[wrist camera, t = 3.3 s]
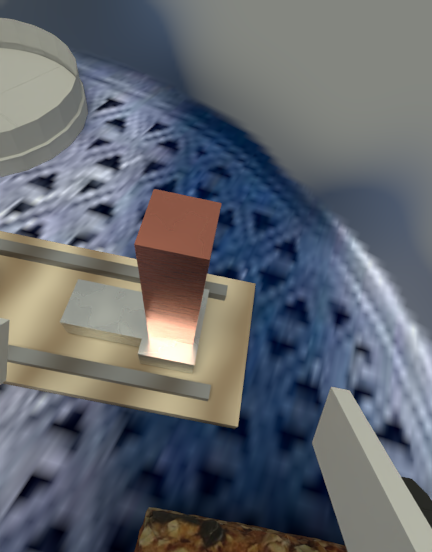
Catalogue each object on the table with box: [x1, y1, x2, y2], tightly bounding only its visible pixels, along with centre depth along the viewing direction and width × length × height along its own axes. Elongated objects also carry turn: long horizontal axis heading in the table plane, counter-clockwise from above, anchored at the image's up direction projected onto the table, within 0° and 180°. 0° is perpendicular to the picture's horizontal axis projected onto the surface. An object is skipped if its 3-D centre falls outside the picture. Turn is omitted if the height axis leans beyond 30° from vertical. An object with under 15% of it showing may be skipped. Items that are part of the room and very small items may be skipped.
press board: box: [0, 231, 255, 429], centre depth 25 cm, size 30×12×8 cm, turn 80°
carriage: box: [60, 189, 221, 374], centre depth 21 cm, size 10×6×14 cm, turn 80°
